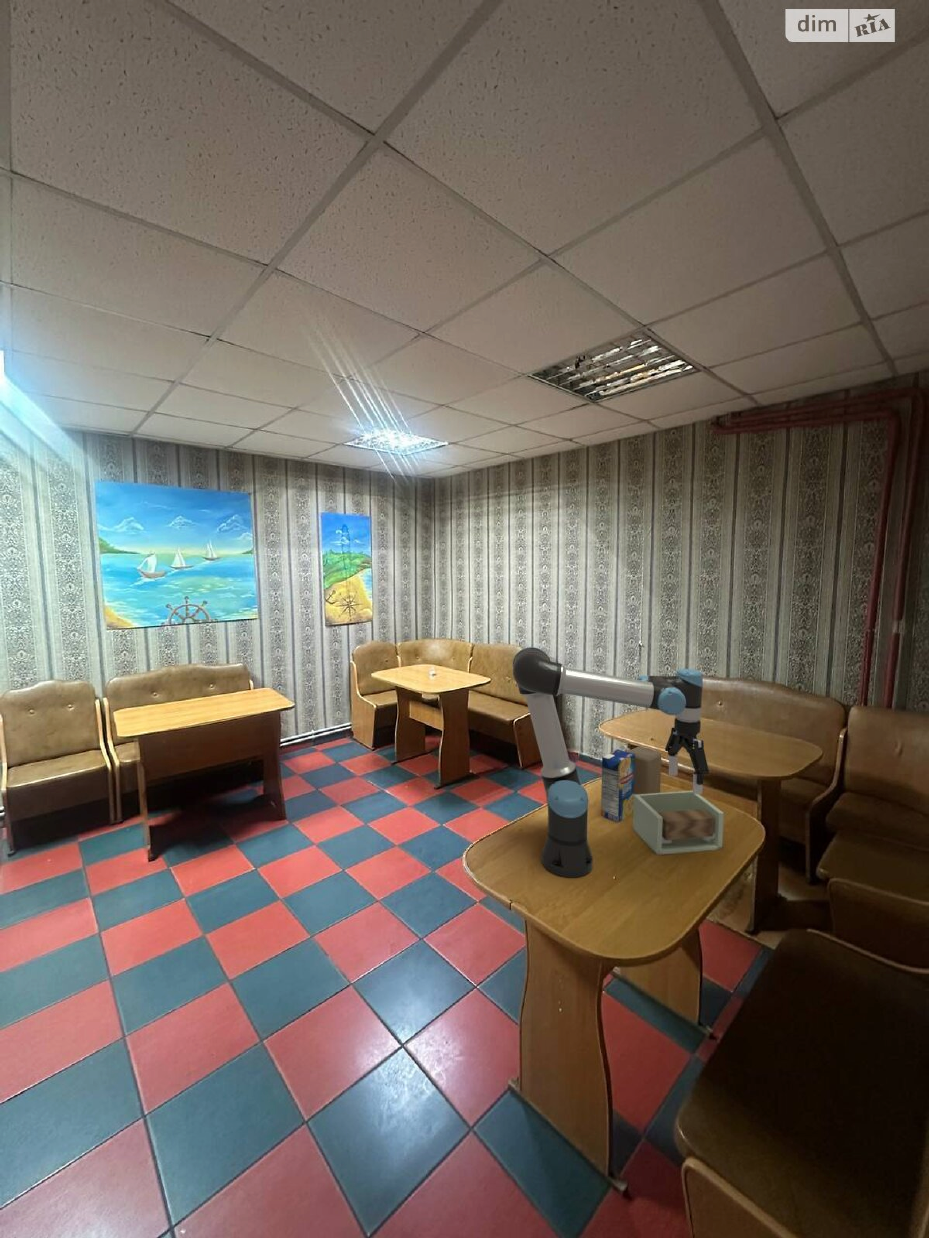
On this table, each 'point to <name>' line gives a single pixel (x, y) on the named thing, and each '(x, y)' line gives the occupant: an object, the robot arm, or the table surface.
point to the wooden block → (646, 771)
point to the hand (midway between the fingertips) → (684, 784)
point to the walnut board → (686, 824)
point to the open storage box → (650, 804)
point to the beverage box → (617, 785)
